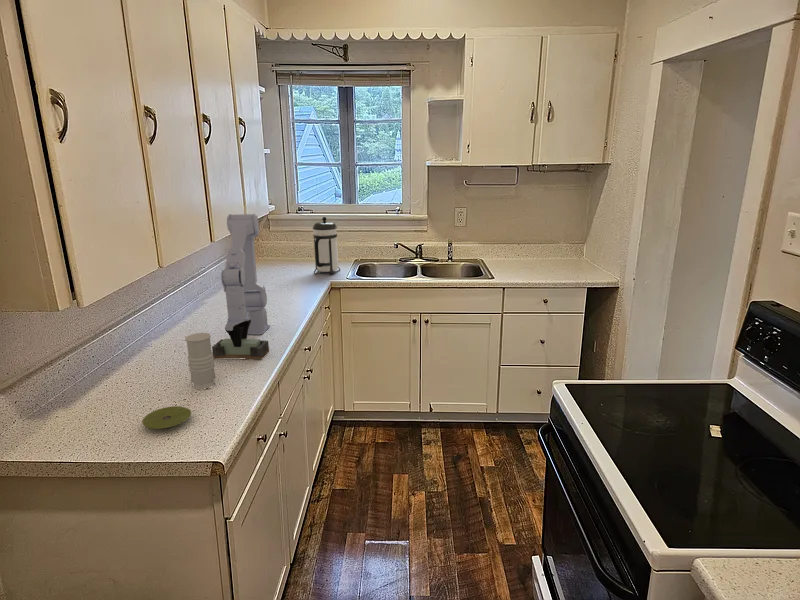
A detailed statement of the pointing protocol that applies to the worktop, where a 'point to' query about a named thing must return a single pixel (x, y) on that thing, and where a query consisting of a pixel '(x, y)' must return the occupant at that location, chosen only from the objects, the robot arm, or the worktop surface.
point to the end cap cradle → (254, 351)
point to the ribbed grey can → (200, 360)
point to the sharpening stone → (241, 350)
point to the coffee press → (325, 246)
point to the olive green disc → (166, 417)
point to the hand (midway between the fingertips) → (240, 344)
